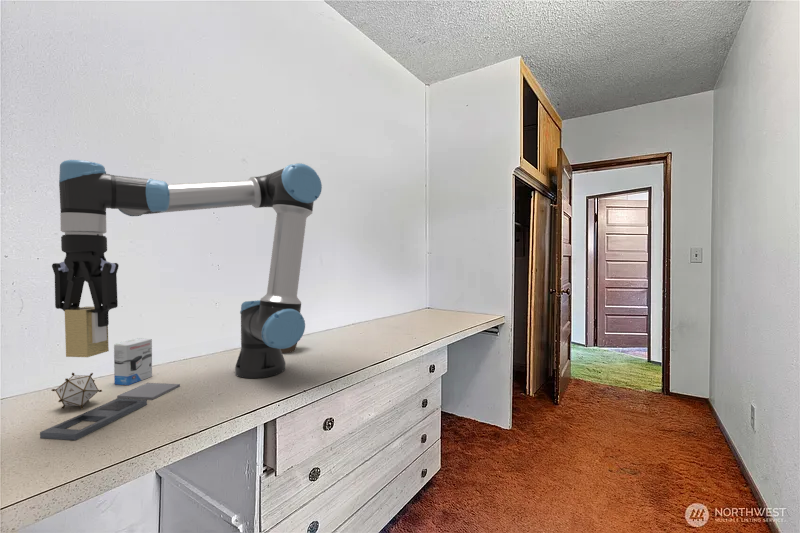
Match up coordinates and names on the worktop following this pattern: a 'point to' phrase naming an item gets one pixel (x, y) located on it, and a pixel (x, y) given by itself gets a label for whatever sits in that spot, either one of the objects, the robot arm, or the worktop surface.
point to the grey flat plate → (93, 419)
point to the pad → (148, 391)
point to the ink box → (132, 361)
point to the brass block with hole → (81, 334)
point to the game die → (77, 390)
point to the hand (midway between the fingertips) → (87, 341)
